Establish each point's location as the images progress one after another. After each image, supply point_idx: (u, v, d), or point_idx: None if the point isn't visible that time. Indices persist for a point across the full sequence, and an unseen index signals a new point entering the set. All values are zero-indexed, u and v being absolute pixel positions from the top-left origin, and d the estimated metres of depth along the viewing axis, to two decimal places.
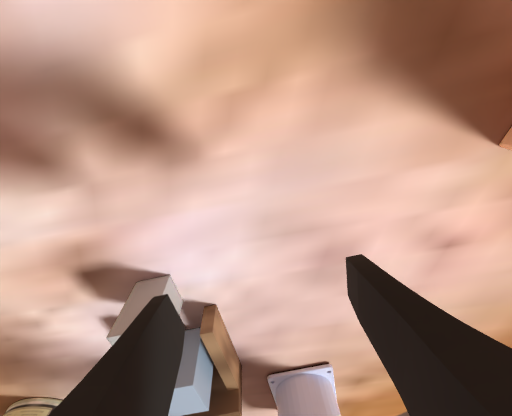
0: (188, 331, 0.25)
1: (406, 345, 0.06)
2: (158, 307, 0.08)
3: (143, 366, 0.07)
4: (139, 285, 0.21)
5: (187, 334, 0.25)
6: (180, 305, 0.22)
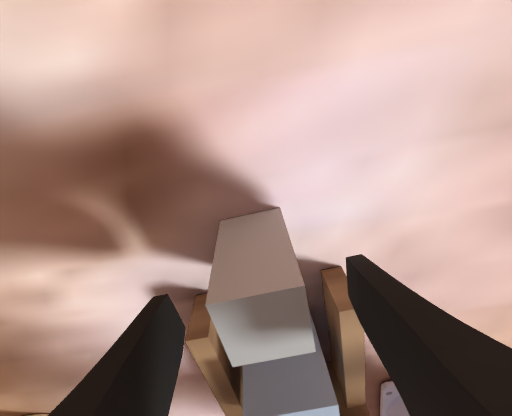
0: None
1: (406, 345, 0.06)
2: (158, 307, 0.08)
3: (143, 366, 0.07)
4: (228, 224, 0.12)
5: None
6: None
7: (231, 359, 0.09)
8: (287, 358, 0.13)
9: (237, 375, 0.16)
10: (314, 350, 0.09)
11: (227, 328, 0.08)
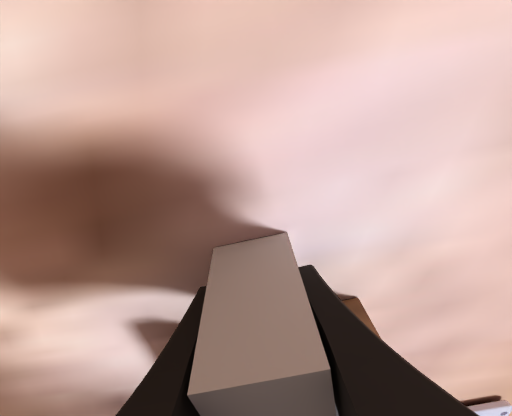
0: None
1: (330, 359, 0.06)
2: None
3: None
4: (224, 253, 0.10)
5: None
6: None
7: None
8: None
9: None
10: None
11: None
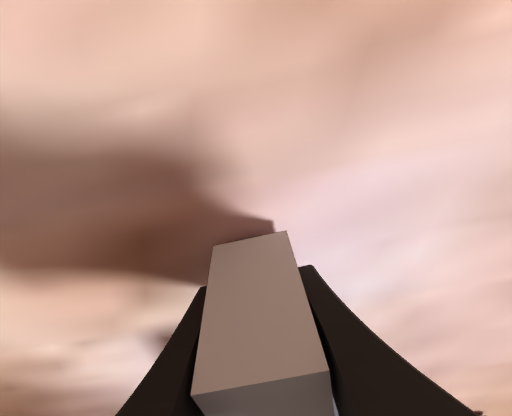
0: None
1: (330, 359, 0.06)
2: None
3: None
4: (223, 252, 0.10)
5: None
6: None
7: None
8: None
9: None
10: None
11: None
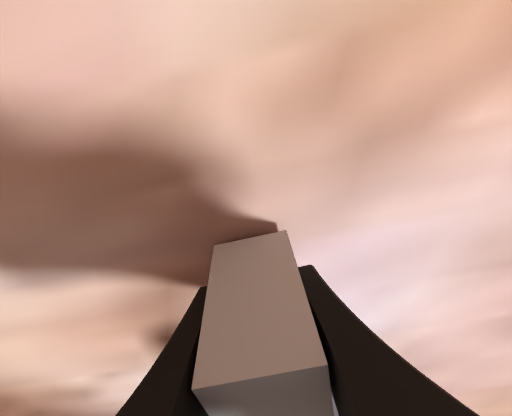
0: None
1: (330, 359, 0.06)
2: None
3: None
4: (224, 251, 0.10)
5: None
6: None
7: None
8: None
9: None
10: None
11: (222, 410, 0.06)
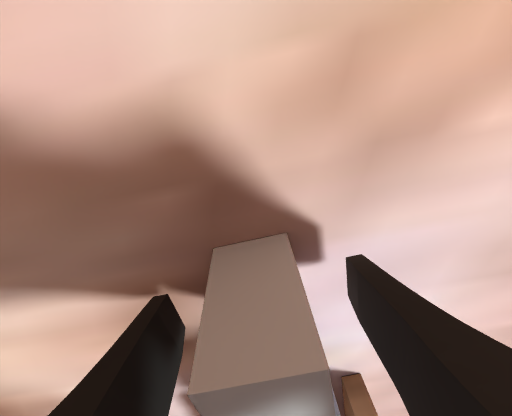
0: None
1: (406, 345, 0.06)
2: (158, 307, 0.08)
3: (143, 366, 0.07)
4: (223, 254, 0.10)
5: None
6: None
7: None
8: None
9: None
10: None
11: None
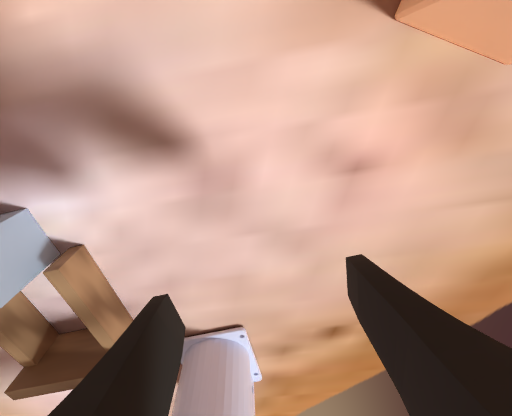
0: (6, 213, 0.18)
1: (406, 345, 0.06)
2: (158, 307, 0.08)
3: (143, 366, 0.07)
4: None
5: (1, 215, 0.18)
6: None
7: None
8: None
9: (24, 327, 0.21)
10: None
11: None
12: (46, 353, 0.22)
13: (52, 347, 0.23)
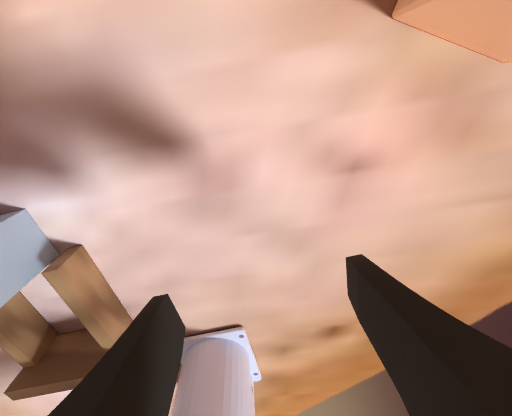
0: (4, 214, 0.18)
1: (406, 345, 0.06)
2: (158, 307, 0.08)
3: (143, 366, 0.07)
4: None
5: (0, 216, 0.18)
6: None
7: None
8: None
9: (23, 327, 0.21)
10: None
11: None
12: (45, 353, 0.22)
13: (51, 347, 0.23)
